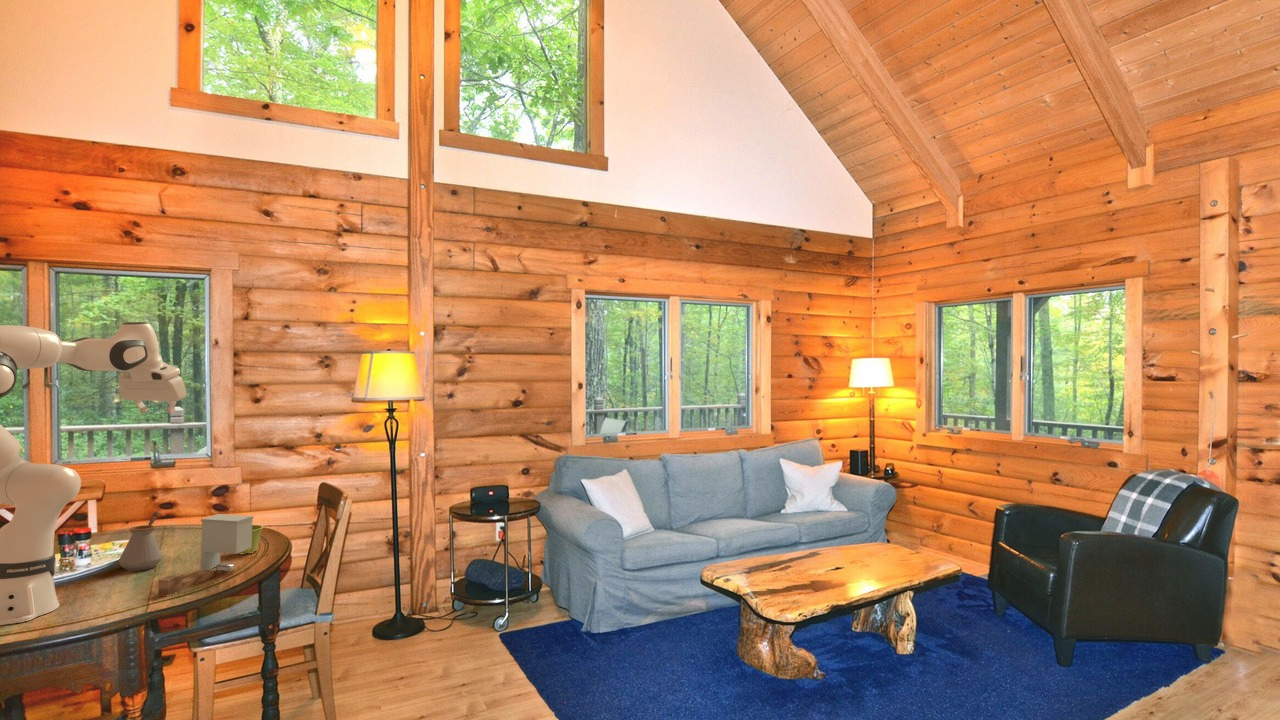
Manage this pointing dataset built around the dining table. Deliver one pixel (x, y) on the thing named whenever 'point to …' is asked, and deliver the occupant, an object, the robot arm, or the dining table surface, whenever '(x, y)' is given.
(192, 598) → the dining table surface
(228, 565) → the steel token
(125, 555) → the coffee pot
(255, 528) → the plant pot
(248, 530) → the grey cube on pedestal
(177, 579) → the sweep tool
